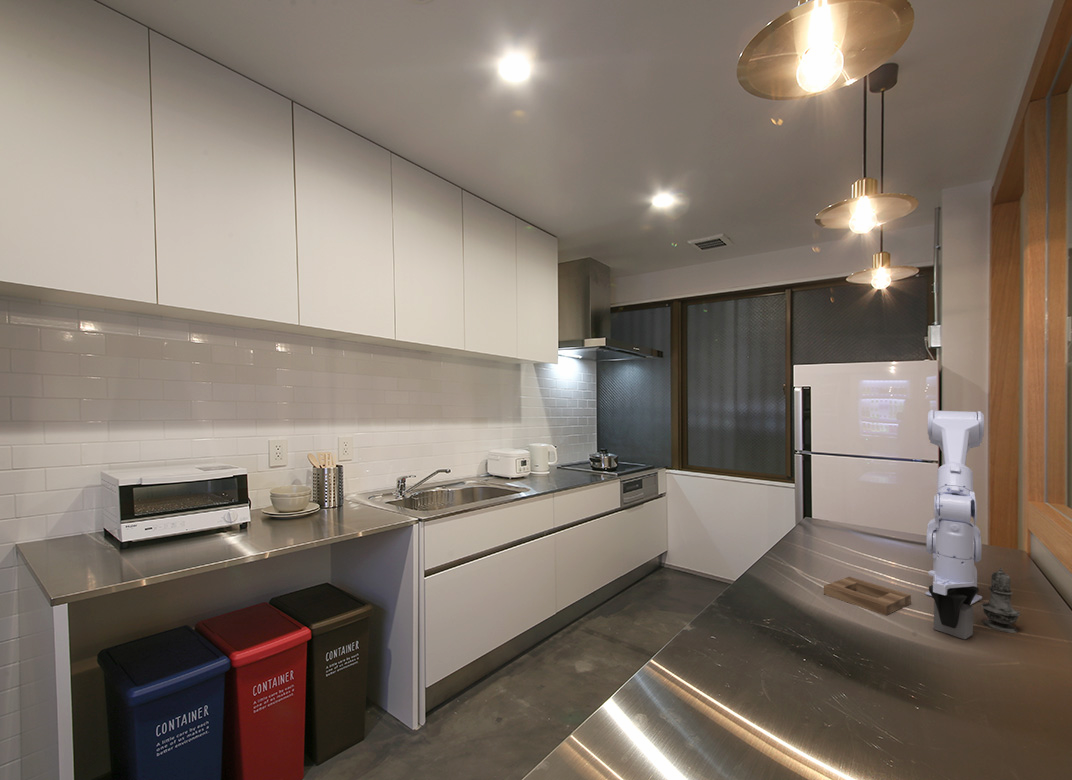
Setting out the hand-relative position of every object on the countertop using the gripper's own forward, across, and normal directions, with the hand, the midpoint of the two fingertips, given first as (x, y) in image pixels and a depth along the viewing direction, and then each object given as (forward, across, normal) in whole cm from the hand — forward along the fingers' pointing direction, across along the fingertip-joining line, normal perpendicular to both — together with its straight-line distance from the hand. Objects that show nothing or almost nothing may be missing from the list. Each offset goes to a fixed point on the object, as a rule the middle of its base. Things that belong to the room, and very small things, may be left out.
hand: (953, 623), depth 99 cm
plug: (+2, 0, 0) cm, 2 cm away
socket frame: (+2, -3, -17) cm, 17 cm away
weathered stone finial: (+2, -12, +4) cm, 13 cm away
